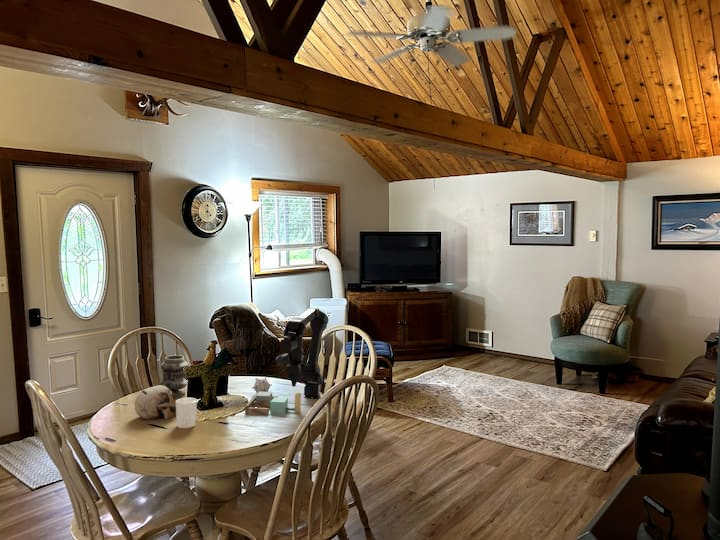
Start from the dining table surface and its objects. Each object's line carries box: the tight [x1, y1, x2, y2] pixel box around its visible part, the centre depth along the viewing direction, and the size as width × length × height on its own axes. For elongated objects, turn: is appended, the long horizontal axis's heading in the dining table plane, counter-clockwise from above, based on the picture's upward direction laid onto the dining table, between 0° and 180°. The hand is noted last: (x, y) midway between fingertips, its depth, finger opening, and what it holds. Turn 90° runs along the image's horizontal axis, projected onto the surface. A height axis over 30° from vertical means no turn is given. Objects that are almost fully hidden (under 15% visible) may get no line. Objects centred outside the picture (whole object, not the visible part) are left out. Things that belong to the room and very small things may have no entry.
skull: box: [134, 384, 178, 420], centre depth 211 cm, size 16×17×13 cm
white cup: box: [175, 397, 198, 429], centre depth 201 cm, size 8×8×10 cm
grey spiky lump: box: [251, 376, 273, 393], centre depth 242 cm, size 9×8×10 cm
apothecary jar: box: [159, 354, 189, 399], centre depth 238 cm, size 12×12×18 cm
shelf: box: [244, 392, 279, 416], centre depth 224 cm, size 10×18×4 cm, turn 176°
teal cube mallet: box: [269, 392, 302, 415], centre depth 219 cm, size 12×6×8 cm, turn 84°
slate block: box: [256, 391, 273, 402], centre depth 228 cm, size 6×6×5 cm
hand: (295, 383), depth 224 cm, fingers open, 9 cm apart
